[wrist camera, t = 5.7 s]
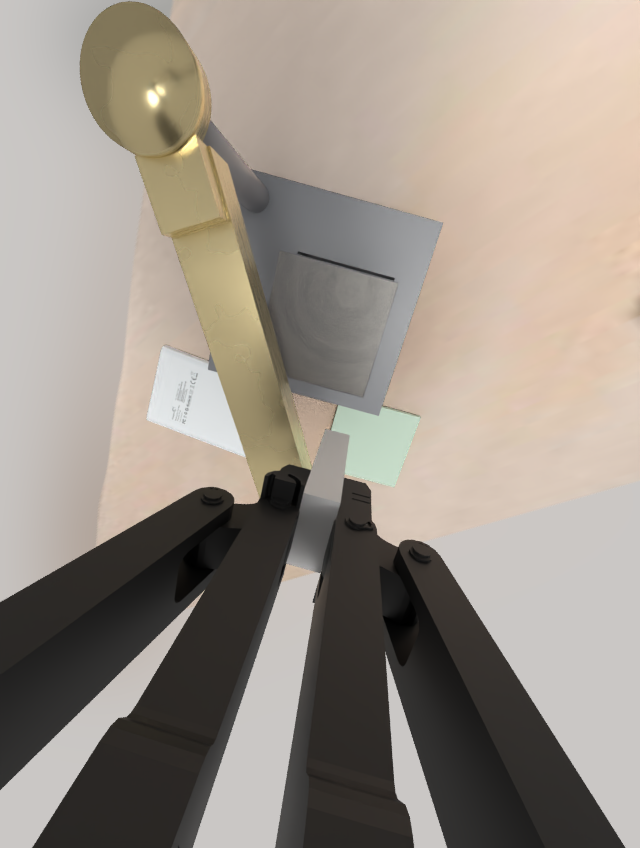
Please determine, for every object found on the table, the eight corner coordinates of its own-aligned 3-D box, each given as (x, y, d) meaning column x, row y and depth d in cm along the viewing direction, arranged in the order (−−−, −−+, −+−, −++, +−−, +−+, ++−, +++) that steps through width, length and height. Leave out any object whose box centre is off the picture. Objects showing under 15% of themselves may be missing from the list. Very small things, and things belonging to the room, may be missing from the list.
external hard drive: (262, 457, 40) (152, 416, 39) (286, 389, 37) (168, 343, 36) (258, 464, 38) (144, 421, 38) (284, 393, 35) (161, 345, 35)
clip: (127, 89, 14) (58, 27, 11) (214, 56, 13) (170, -20, 10) (267, 507, 20) (250, 550, 17) (331, 496, 19) (327, 538, 16)
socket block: (262, 192, 31) (122, 36, 12) (423, 237, 31) (536, 153, 12) (234, 355, 35) (103, 426, 17) (373, 393, 36) (398, 505, 17)
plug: (312, 268, 30) (278, 249, 16) (377, 286, 30) (399, 282, 16) (296, 335, 32) (255, 368, 18) (358, 351, 32) (363, 398, 18)
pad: (341, 394, 36) (340, 396, 35) (419, 415, 36) (420, 417, 36) (320, 465, 39) (320, 467, 38) (393, 484, 39) (394, 487, 38)
